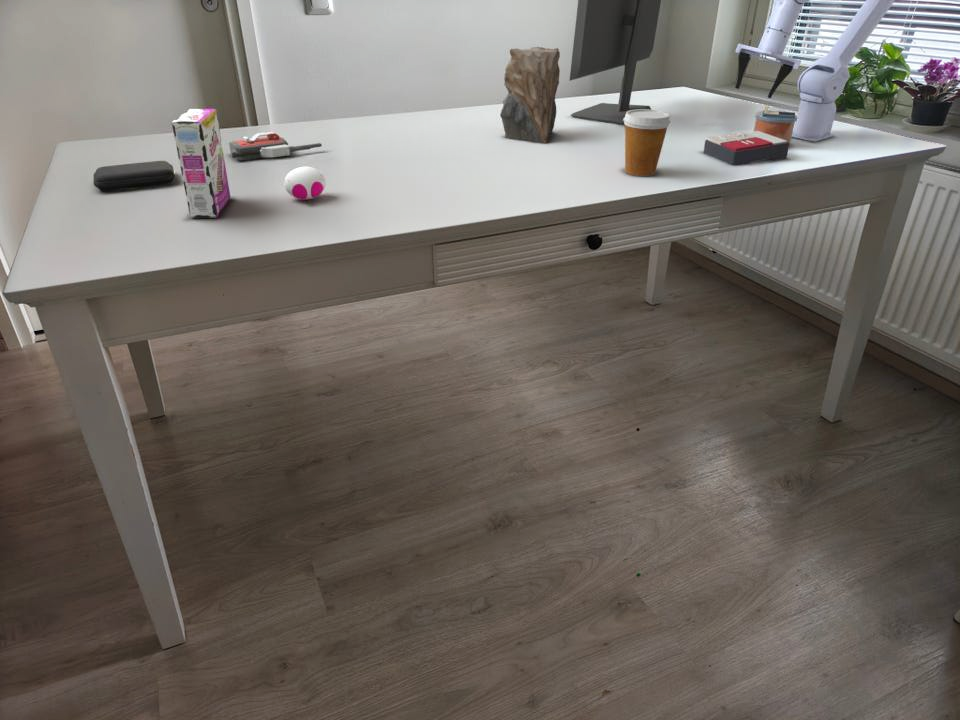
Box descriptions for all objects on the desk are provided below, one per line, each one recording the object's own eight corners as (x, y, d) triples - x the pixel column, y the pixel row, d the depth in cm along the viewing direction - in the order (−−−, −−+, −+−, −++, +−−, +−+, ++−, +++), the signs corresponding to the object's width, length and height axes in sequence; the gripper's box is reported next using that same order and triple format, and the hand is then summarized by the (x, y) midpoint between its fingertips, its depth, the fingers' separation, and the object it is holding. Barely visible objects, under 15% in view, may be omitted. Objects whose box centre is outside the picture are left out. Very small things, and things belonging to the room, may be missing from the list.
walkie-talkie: (236, 164, 151) (324, 152, 160) (232, 143, 148) (322, 132, 158) (224, 155, 157) (310, 143, 166) (221, 135, 155) (307, 124, 164)
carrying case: (173, 170, 146) (95, 179, 141) (170, 156, 145) (91, 164, 139) (178, 185, 138) (95, 194, 133) (175, 169, 137) (91, 178, 131)
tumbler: (749, 146, 168) (755, 115, 164) (750, 137, 176) (756, 107, 172) (790, 150, 165) (798, 118, 162) (790, 141, 173) (797, 110, 169)
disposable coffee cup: (636, 181, 144) (644, 120, 137) (608, 169, 151) (614, 111, 145) (672, 175, 147) (681, 116, 141) (643, 163, 155) (651, 107, 148)
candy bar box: (219, 218, 123) (200, 121, 114) (189, 219, 122) (169, 122, 114) (232, 197, 132) (216, 107, 124) (205, 198, 132) (187, 107, 123)
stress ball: (291, 220, 131) (290, 198, 126) (282, 186, 134) (280, 163, 128) (331, 213, 134) (331, 191, 128) (321, 180, 137) (321, 157, 131)
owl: (498, 137, 173) (500, 49, 163) (518, 126, 183) (522, 43, 172) (545, 143, 168) (551, 53, 158) (564, 132, 178) (570, 47, 168)
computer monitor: (619, 99, 214) (636, -53, 193) (669, 106, 206) (692, -51, 185) (545, 126, 184) (555, -51, 163) (601, 135, 176) (619, -49, 155)
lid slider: (764, 114, 167) (765, 106, 166) (764, 112, 169) (766, 104, 168) (778, 115, 166) (780, 107, 165) (778, 113, 168) (780, 105, 167)
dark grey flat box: (704, 136, 161) (758, 128, 165) (702, 155, 163) (755, 146, 167) (735, 148, 152) (791, 139, 156) (732, 168, 155) (787, 158, 159)
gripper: (745, 21, 158) (721, 83, 164) (810, 38, 154) (783, 102, 160) (747, 24, 164) (724, 84, 170) (809, 41, 160) (783, 102, 166)
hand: (752, 93), depth 165 cm, fingers open, 7 cm apart
